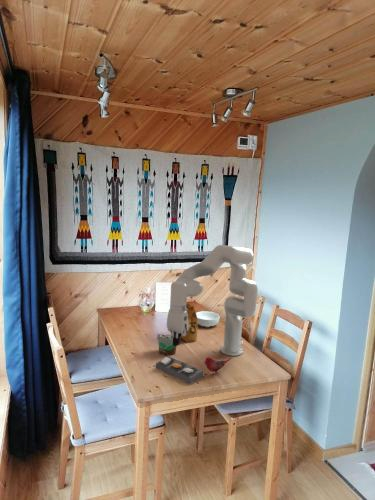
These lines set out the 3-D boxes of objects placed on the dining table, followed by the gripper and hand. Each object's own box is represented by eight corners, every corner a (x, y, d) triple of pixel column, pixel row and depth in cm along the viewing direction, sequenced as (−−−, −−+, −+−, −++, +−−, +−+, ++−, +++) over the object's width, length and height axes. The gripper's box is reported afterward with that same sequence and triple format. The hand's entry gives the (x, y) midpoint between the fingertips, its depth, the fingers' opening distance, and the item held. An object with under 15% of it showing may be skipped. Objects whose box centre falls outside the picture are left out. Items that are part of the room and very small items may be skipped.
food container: (152, 353, 201) (153, 336, 200) (157, 349, 207) (158, 332, 205) (173, 358, 197) (174, 340, 195) (177, 354, 203) (178, 336, 201)
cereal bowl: (188, 325, 247) (189, 315, 246) (202, 319, 261) (203, 309, 260) (210, 331, 238) (211, 321, 237) (223, 325, 252) (224, 315, 251)
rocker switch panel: (168, 362, 192) (169, 355, 192) (203, 376, 179) (203, 369, 178) (155, 368, 185) (155, 361, 184) (190, 384, 171) (190, 376, 171)
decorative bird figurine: (201, 376, 179) (202, 356, 177) (229, 368, 189) (230, 349, 188) (205, 379, 177) (206, 359, 175) (232, 370, 187) (234, 351, 185)
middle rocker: (176, 365, 182) (177, 363, 182) (181, 367, 180) (182, 365, 180) (171, 365, 179) (172, 363, 179) (176, 367, 177) (177, 365, 177)
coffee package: (185, 344, 217) (187, 307, 213) (174, 336, 227) (176, 301, 223) (199, 341, 222) (201, 305, 219) (188, 334, 232) (189, 299, 229)
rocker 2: (187, 369, 178) (188, 367, 178) (193, 372, 176) (193, 370, 176) (182, 370, 175) (183, 368, 175) (188, 372, 173) (188, 370, 173)
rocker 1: (166, 358, 186) (166, 357, 186) (171, 360, 184) (170, 359, 184) (160, 362, 184) (160, 361, 183) (165, 365, 182) (165, 363, 181)
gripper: (195, 309, 173) (193, 347, 175) (171, 302, 182) (169, 338, 184) (185, 313, 167) (183, 352, 169) (160, 305, 176) (159, 342, 179)
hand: (176, 345), depth 177 cm, fingers closed
